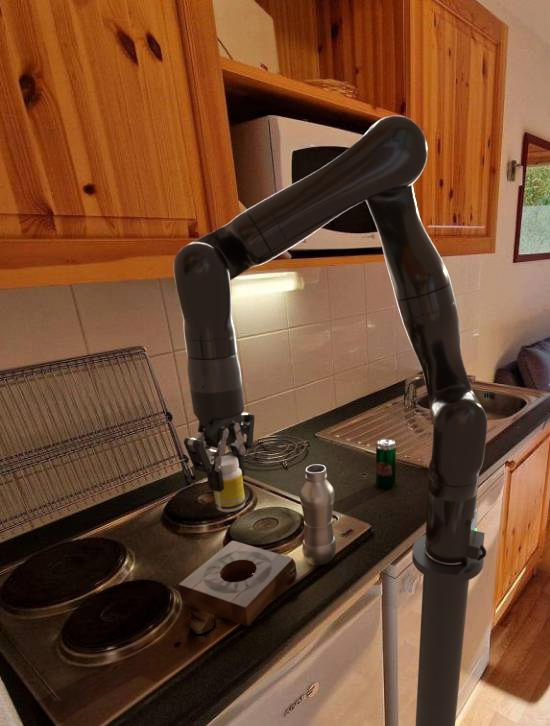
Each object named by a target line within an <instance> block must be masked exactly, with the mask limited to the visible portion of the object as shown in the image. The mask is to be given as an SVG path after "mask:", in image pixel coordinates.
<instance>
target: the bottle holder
mask: <svg viewBox="0 0 550 726" xmlns="http://www.w3.org/2000/svg"><path fill="white" fill-rule="evenodd" d="M294 564H295V563H294V557H291V556H287V555H283V554H279V553H277V552H273V551H271V550H266V549H263V548H260V547H255V546H253V545H249V544H246V543H242V542H240V541H236V540H231V541H229V542H228V543H227V544H226V545H225V546H223V547H222V548H221V549H220V550H218V551H217V552H216V553H215V554H214V555H213V556H211V557H209V559H208V560H207V561H205V562H204V563H203V564H201V565H200V566H199V567H198V568H197V569H196V570H194V571H193V572H192V573H190V574H189V575H188V576H186V578H185V579H183V580H182V581H181V582H179V583H178V589H179V594H180V600H181V603H182V604H185V605H187V606H190V607H193V608H196V609H198V610H201V611H204V612H207V613H209V614H212V615H215V616H218V617H220V618H223V619H225V620H228V621H231V622H234V623H236V624H239V625H241V626H244V627H249V626H250V625H251V624H252V623H253V622H254V621H255V620H256V618H258V616H259V615H260V614H261V613H262V612H263V611H264V610H265V609H266V608H267V606H268V605H269V604H270V603H272V601H273V600H274V599H275V598H276V597H277V595H279V593H280V592H281V591H282V590H283V589H284V588H285V587H286V586H287V584H288V583H290V581H291V580H293V578H294V577H295V571H294V572H293V573H292V574H291V575H290V573H291V570H292V568H293V567H294V568H295V565H294ZM252 573H255V574H254V575H253V576H252V577H251V574H252ZM289 576H290V577H289ZM240 578H247V579H244V580H241V581H236V582H235V581H234V580H236V579H240ZM232 581H234V582H232Z"/></svg>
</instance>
